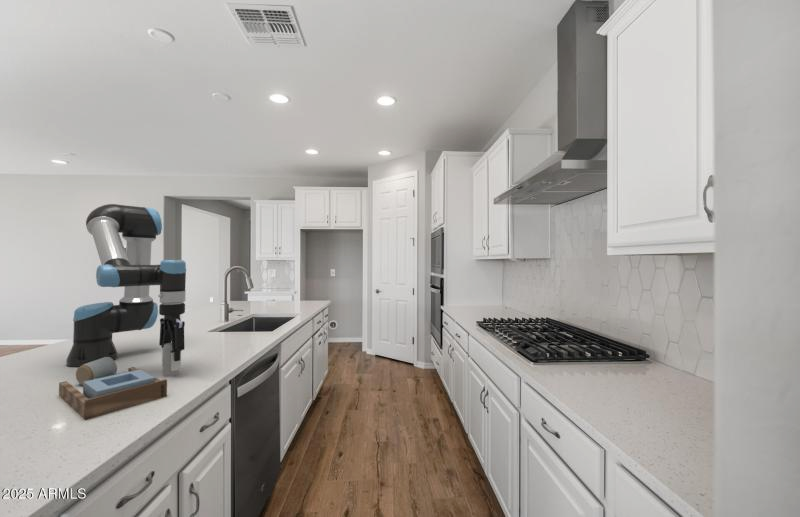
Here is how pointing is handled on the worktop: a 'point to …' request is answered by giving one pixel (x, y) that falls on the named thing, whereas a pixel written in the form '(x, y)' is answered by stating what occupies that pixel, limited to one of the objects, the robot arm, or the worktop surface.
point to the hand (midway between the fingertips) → (171, 367)
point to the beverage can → (168, 361)
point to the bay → (111, 398)
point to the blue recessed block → (116, 383)
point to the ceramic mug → (96, 369)
